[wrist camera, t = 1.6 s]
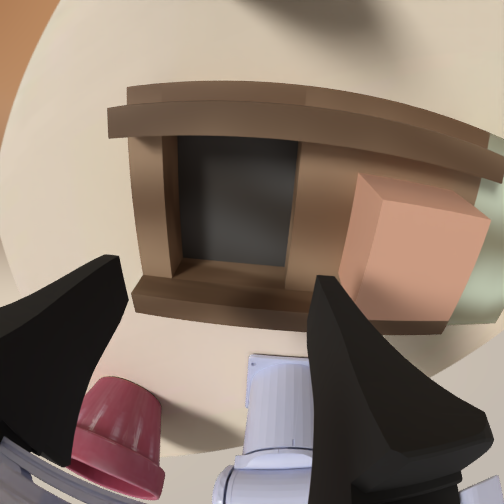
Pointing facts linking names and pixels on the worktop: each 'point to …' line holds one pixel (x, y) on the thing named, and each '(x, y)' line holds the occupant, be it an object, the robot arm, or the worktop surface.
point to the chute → (285, 195)
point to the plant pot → (119, 439)
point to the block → (409, 249)
